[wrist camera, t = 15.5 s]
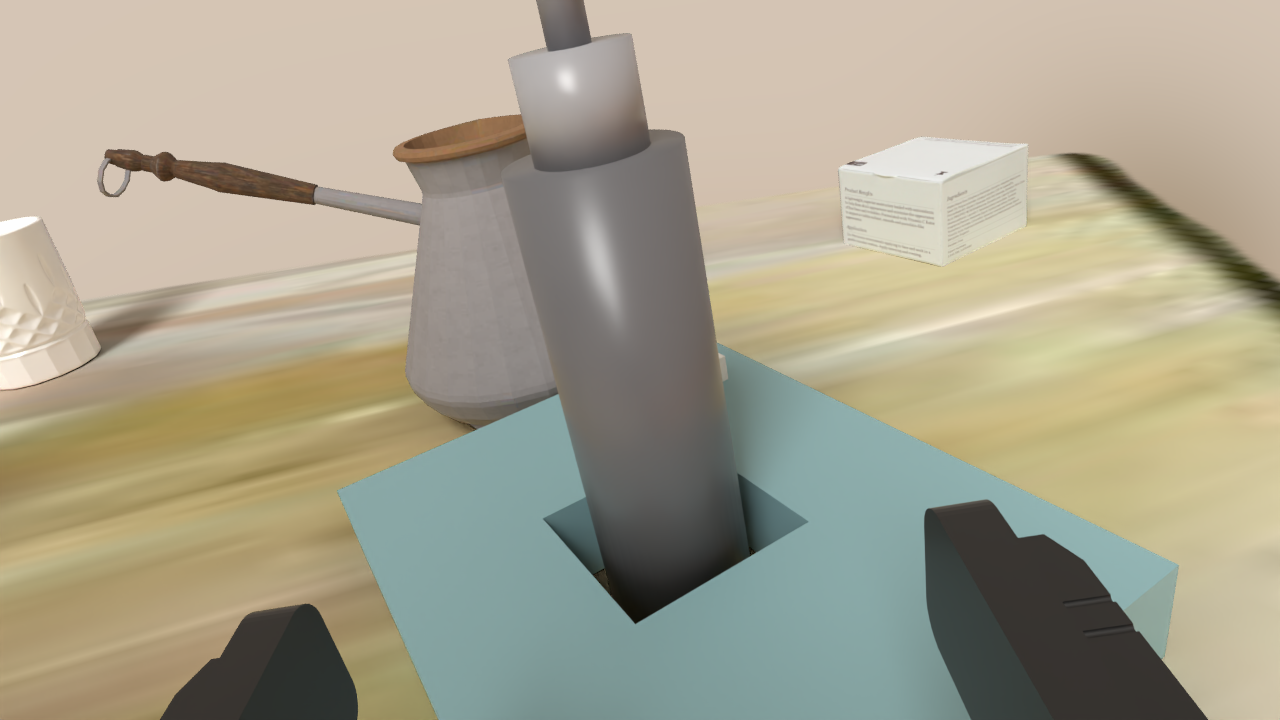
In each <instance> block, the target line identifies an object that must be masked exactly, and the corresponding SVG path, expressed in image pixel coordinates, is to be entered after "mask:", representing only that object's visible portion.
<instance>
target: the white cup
mask: <svg viewBox="0 0 1280 720" xmlns="http://www.w3.org/2000/svg"><path fill="white" fill-rule="evenodd" d="M100 349H101V346H100V344H99V342H98V340H97V338H96V336H95V334H94V332H93V330H92V328H91V326H90V324H89V322H88V320H87V319H86V315H85V310H84V307H83V305H82V303H81V301H80V299H79V297H78V295H77V293H76V290H75V288H74V285H73V283H72V281H71V278H70V276H69V274H68V272H67V270H66V268H65V266H64V264H63V262H62V259H61V257H60V255H59V253H58V251H57V249H56V247H55V245H54V243H53V241H52V239H51V237H50V235H49V233H48V230H47V228H46V226H45V224H44V222H43V220H42V218H41V217H38V216H33V217H24V218H18V219H13V220H8V221H3V222H0V390H10V389H18V388H22V387H27V386H31V385H35V384H38V383H41V382H44V381H47V380H50V379H53V378H55V377H58V376H61V375H63V374H65V373H67V372H69V371H72V370H74V369H76V368H78V367H80V366H82V365H84V364H85V363H87V362H88V361H90V360H91V359H93V358H94V357H96V355H97V354H98V353H99V351H100Z"/></svg>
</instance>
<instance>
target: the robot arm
mask: <svg viewBox="0 0 1280 720" xmlns="http://www.w3.org/2000/svg"><path fill="white" fill-rule="evenodd" d="M924 539H925V574H926V602H927V609H928V615H929V620H930V624H931V628H932V632H933V635H934V638H935V641H936V644H937V646H938V649H939V651H940V654H941V656H942V658H943V660H944V662H945V664H946V667H947V669H948V671H949V673H950V675H951V677H952V680H953V682H954V684H955V686H956V688H957V690H958V693H959V695H960V697H961V699H962V701H963V703H964V706H965V708H966V710H967V712H968V714H969V716H970V718H971V720H1208V719H1207V718H1206V716H1205V715H1204V714H1203V712H1202V711H1201V710H1200V709H1199V707H1198V706H1197V705H1196V703H1195V702H1194V701H1193V700H1192V698H1191V697H1190V696H1189V694H1188V693H1187V692H1186V691H1185V689H1184V688H1183V687H1182V685H1181V684H1180V683H1179V682H1178V680H1177V679H1176V678H1175V676H1174V675H1173V674H1172V673H1171V671H1170V670H1169V669H1168V667H1167V666H1166V665H1165V664H1164V662H1163V661H1162V660H1161V658H1160V657H1159V656H1158V655H1157V653H1156V652H1155V651H1154V649H1153V648H1152V647H1151V646H1150V644H1149V643H1148V642H1147V640H1146V639H1145V638H1144V637H1143V635H1142V634H1141V633H1140V631H1137V632H1136V631H1135V629H1134V626H1133V623H1132V621H1131V620H1130V619H1129V617H1128V616H1127V615H1126V614H1125V612H1124V611H1123V610H1122V608H1121V607H1120V606H1119V605H1118V603H1117V602H1113V601H1112V599H1111V594H1110V593H1109V592H1108V590H1107V589H1106V588H1105V587H1104V585H1103V584H1102V583H1101V581H1100V580H1099V579H1098V578H1097V576H1096V575H1095V574H1094V572H1093V571H1092V570H1091V569H1090V567H1089V566H1088V565H1087V563H1086V562H1085V561H1084V560H1083V559H1081V558H1080V557H1078V556H1077V555H1075V554H1074V553H1072V552H1071V551H1069V550H1068V549H1066V548H1065V547H1063V546H1061V545H1060V544H1058V543H1057V542H1055V541H1054V540H1052V539H1051V538H1049V537H1048V536H1046V535H1045V534H1040V535H1034V536H1027V537H1021V538H1018V537H1017V536H1016V534H1015V533H1014V532H1013V530H1012V529H1011V527H1010V526H1009V524H1008V523H1007V521H1006V520H1005V519H1004V517H1003V516H1002V514H1001V513H1000V511H999V510H998V508H997V507H996V506H995V505H994V503H992V502H991V501H990V500H987V499H985V500H978V501H972V502H966V503H959V504H953V505H946V506H940V507H934V508H928V509H927V510H926V511H925V515H924ZM357 716H358V702H357V694H356V689H355V685H354V683H353V680H352V678H351V676H350V674H349V672H348V670H347V668H346V666H345V664H344V662H343V660H342V658H341V656H340V654H339V652H338V649H337V647H336V645H335V643H334V641H333V639H332V637H331V635H330V633H329V631H328V629H327V627H326V625H325V623H324V621H323V619H322V617H321V615H320V613H319V611H318V610H317V609H316V608H315V607H314V606H313V605H310V604H302V605H295V606H289V607H282V608H276V609H270V610H263V611H257V612H252V613H250V614H248V615H247V616H246V617H245V618H244V619H243V620H242V621H241V623H240V624H239V626H238V628H237V629H236V631H235V633H234V635H233V636H232V638H231V640H230V641H229V643H228V645H227V646H226V648H225V650H224V652H223V653H222V655H221V657H220V658H216V659H211V660H210V661H209V662H208V663H207V664H206V665H205V666H204V667H203V668H202V669H201V670H200V671H199V672H198V673H197V674H196V675H195V676H194V677H193V678H192V679H191V680H190V681H189V682H188V683H187V684H186V685H185V686H184V687H183V688H182V689H181V690H180V691H179V692H178V693H177V694H176V695H175V696H174V698H173V699H172V701H171V703H170V704H169V706H168V708H167V709H166V711H165V712H164V714H163V716H162V717H161V719H160V720H357Z"/></svg>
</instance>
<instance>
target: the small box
mask: <svg viewBox="0 0 1280 720" xmlns="http://www.w3.org/2000/svg"><path fill="white" fill-rule="evenodd" d="M1027 175H1028V144H1010V143H995V142H982V141H968V140H956V139H943V138H932V137H919V138H915V139H912V140H910V141H907V142H904V143H901V144H899V145H896V146H894V147H891V148H889V149H886V150H883V151H881V152H878V153H875V154H873V155H870V156H867V157H864V158H861V159H858V160H855V161H853V162H850V163H848V164H845V165H843V166H841V167H839V169H838V176H839V188H840V199H841V213H842V225H843V240H844V244H846V245H850V246H855V247H859V248H863V249H868V250H872V251H876V252H881V253H885V254H889V255H893V256H898V257H902V258H906V259H911V260H915V261H920V262H924V263H928V264H932V265H936V266H940V267H943V266H946V265H947V264H949V263H951V262H953V261H955V260H957V259H959V258H962V257H964V256H966V255H968V254H970V253H972V252H974V251H976V250H978V249H980V248H982V247H985V246H987V245H989V244H991V243H993V242H995V241H997V240H999V239H1001V238H1003V237H1006V236H1008V235H1010V234H1012V233H1014V232H1016V231H1018V230H1020V229H1022V228H1024V227H1026V225H1027Z"/></svg>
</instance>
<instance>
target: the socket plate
mask: <svg viewBox="0 0 1280 720" xmlns="http://www.w3.org/2000/svg"><path fill="white" fill-rule="evenodd" d="M717 348H718V354H719V361H720V367H721V374H722V380H723V386H724V393H725V399H726V406H727V412H728V418H729V425H730V431H731V438H732V444H733V450H734V457H735V463H736V470H737V476H738V482H739V489H740V495H741V502H742V508H743V514H744V521H745V527H746V534H747V540H748V546H749V547H750V548H752V549H753V550H754V551H755V552H757V553H755V554H753V555H752V556H750V557H748V558H747V559H745V560H743V561H742V562H740V563H738V564H737V565H735V566H733V567H731V568H730V569H728V570H726V571H725V572H723V573H721V574H720V575H718V576H716V577H714V578H713V579H711V580H709V581H708V582H706V583H704V584H703V585H701V586H699V587H698V588H696V589H694V590H692V591H691V592H689V593H687V594H686V595H684V596H682V597H681V598H679V599H677V600H676V601H674V602H672V603H670V604H669V605H667V606H665V607H664V608H662V609H660V610H659V611H657V612H655V613H654V614H652V615H650V616H648V617H647V618H645V619H643V620H642V621H640V622H638V623H637V624H635V623H634V622H633V621H632V620H631V619H630V618H629V616H628V615H627V614H626V613H625V612H624V611H623V610H622V608H621V607H620V606H619V605H618V604H617V603H616V602H615V600H614V599H613V598H612V597H611V596H610V595H609V594H608V592H607V591H606V590H605V589H604V588H603V587H602V586H601V584H600V583H599V582H598V581H597V580H596V579H595V578H594V577H593V574H595V573H597V572H599V571H600V570H602V569H604V564H603V560H602V556H601V552H600V549H599V545H598V541H597V537H596V534H595V530H594V526H593V522H592V518H591V515H590V511H589V507H588V503H587V500H586V496H585V492H584V488H583V484H582V481H581V477H580V473H579V469H578V465H577V462H576V458H575V454H574V450H573V447H572V443H571V439H570V435H569V431H568V428H567V424H566V420H565V416H564V413H563V409H562V405H561V401H560V397H559V394H557V395H555V396H553V397H551V398H548V399H546V400H544V401H541V402H539V403H537V404H535V405H532V406H530V407H528V408H525V409H523V410H521V411H518V412H516V413H514V414H512V415H509V416H507V417H505V418H502V419H500V420H498V421H496V422H493V423H491V424H489V425H486V426H484V427H482V428H479V429H477V430H475V431H473V432H470V433H468V434H466V435H463V436H461V437H459V438H457V439H454V440H452V441H450V442H447V443H445V444H443V445H440V446H438V447H436V448H434V449H431V450H429V451H427V452H424V453H422V454H420V455H418V456H415V457H413V458H411V459H408V460H406V461H404V462H401V463H399V464H397V465H395V466H392V467H390V468H388V469H385V470H383V471H381V472H379V473H376V474H374V475H372V476H369V477H367V478H365V479H362V480H360V481H358V482H356V483H353V484H351V485H349V486H346V487H344V488H342V489H340V490H337V492H338V494H339V497H340V499H341V501H342V504H343V506H344V508H345V511H346V513H347V515H348V518H349V520H350V522H351V524H352V527H353V529H354V531H355V534H356V536H357V538H358V541H359V543H360V545H361V548H362V550H363V552H364V554H365V557H366V559H367V561H368V563H369V566H370V568H371V570H372V572H373V575H374V577H375V579H376V581H377V584H378V586H379V588H380V590H381V593H382V595H383V597H384V599H385V602H386V604H387V606H388V608H389V611H390V613H391V615H392V617H393V619H394V622H395V624H396V626H397V628H398V631H399V633H400V635H401V637H402V640H403V642H404V644H405V646H406V649H407V651H408V653H409V655H410V658H411V660H412V662H413V664H414V667H415V669H416V671H417V673H418V676H419V678H420V680H421V682H422V684H423V687H424V689H425V691H426V693H427V696H428V698H429V700H430V702H431V705H432V707H433V709H434V711H435V714H436V716H437V718H438V720H971V718H970V716H969V714H968V712H967V710H966V708H965V706H964V703H963V701H962V699H961V697H960V695H959V693H958V690H957V688H956V686H955V684H954V682H953V680H952V677H951V675H950V673H949V671H948V669H947V667H946V664H945V662H944V660H943V658H942V656H941V654H940V651H939V649H938V646H937V644H936V641H935V638H934V635H933V632H932V628H931V624H930V620H929V615H928V609H927V602H926V574H925V539H924V515H925V511H926V510H927V509H928V508H934V507H940V506H946V505H953V504H959V503H966V502H972V501H978V500H985V499H987V500H990V501H991V502H992V503H994V505H995V506H996V507H997V508H998V510H999V511H1000V513H1001V514H1002V516H1003V517H1004V519H1005V520H1006V521H1007V523H1008V524H1009V526H1010V527H1011V529H1012V530H1013V532H1014V533H1015V534H1016V536H1017V537H1018V538H1021V537H1027V536H1034V535H1040V534H1045V535H1046V536H1048V537H1049V538H1051V539H1052V540H1054V541H1055V542H1057V543H1058V544H1060V545H1061V546H1063V547H1065V548H1066V549H1068V550H1069V551H1071V552H1072V553H1074V554H1075V555H1077V556H1078V557H1080V558H1081V559H1083V560H1084V561H1085V562H1086V563H1087V565H1088V566H1089V567H1090V569H1091V570H1092V571H1093V572H1094V574H1095V575H1096V576H1097V578H1098V579H1099V580H1100V581H1101V583H1102V584H1103V585H1104V587H1105V588H1106V589H1107V590H1108V592H1109V593H1110V594H1111V599H1112V601H1113V602H1117V603H1118V605H1119V606H1120V607H1121V608H1122V610H1123V611H1124V612H1125V614H1126V615H1127V616H1128V617H1129V619H1130V620H1131V621H1132V623H1133V626H1134V629H1135V631H1136V632H1137V631H1140V633H1141V634H1142V635H1143V637H1144V638H1145V639H1146V640H1147V642H1148V643H1149V644H1150V646H1151V647H1152V648H1153V649H1154V651H1155V652H1156V653H1157V655H1158V656H1159V657H1160V658H1161V659H1162V658H1163V657H1164V656H1165V650H1166V644H1167V638H1168V631H1169V625H1170V618H1171V612H1172V606H1173V599H1174V593H1175V587H1176V580H1177V574H1178V567H1179V565H1177V564H1175V563H1173V562H1171V561H1169V560H1167V559H1165V558H1163V557H1161V556H1159V555H1157V554H1155V553H1153V552H1151V551H1148V550H1146V549H1144V548H1142V547H1140V546H1138V545H1136V544H1134V543H1132V542H1130V541H1128V540H1126V539H1124V538H1121V537H1119V536H1117V535H1115V534H1113V533H1111V532H1109V531H1107V530H1105V529H1103V528H1101V527H1099V526H1097V525H1094V524H1092V523H1090V522H1088V521H1086V520H1084V519H1082V518H1080V517H1078V516H1076V515H1074V514H1072V513H1070V512H1068V511H1065V510H1063V509H1061V508H1059V507H1057V506H1055V505H1053V504H1051V503H1049V502H1047V501H1045V500H1043V499H1041V498H1038V497H1036V496H1034V495H1032V494H1030V493H1028V492H1026V491H1024V490H1022V489H1020V488H1018V487H1016V486H1014V485H1012V484H1009V483H1007V482H1005V481H1003V480H1001V479H999V478H997V477H995V476H993V475H991V474H989V473H987V472H985V471H982V470H980V469H978V468H976V467H974V466H972V465H970V464H968V463H966V462H964V461H962V460H960V459H958V458H955V457H953V456H951V455H949V454H947V453H945V452H943V451H941V450H939V449H937V448H935V447H933V446H931V445H929V444H926V443H924V442H922V441H920V440H918V439H916V438H914V437H912V436H910V435H908V434H906V433H904V432H902V431H899V430H897V429H895V428H893V427H891V426H889V425H887V424H885V423H883V422H881V421H879V420H877V419H875V418H873V417H870V416H868V415H866V414H864V413H862V412H860V411H858V410H856V409H854V408H852V407H850V406H848V405H846V404H843V403H841V402H839V401H837V400H835V399H833V398H831V397H829V396H827V395H825V394H823V393H821V392H819V391H816V390H814V389H812V388H810V387H808V386H806V385H804V384H802V383H800V382H798V381H796V380H794V379H792V378H790V377H787V376H785V375H783V374H781V373H779V372H777V371H775V370H773V369H771V368H769V367H767V366H765V365H763V364H760V363H758V362H756V361H754V360H752V359H750V358H748V357H746V356H744V355H742V354H740V353H738V352H736V351H734V350H731V349H729V348H727V347H725V346H723V345H721V344H719V343H717Z"/></svg>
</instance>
